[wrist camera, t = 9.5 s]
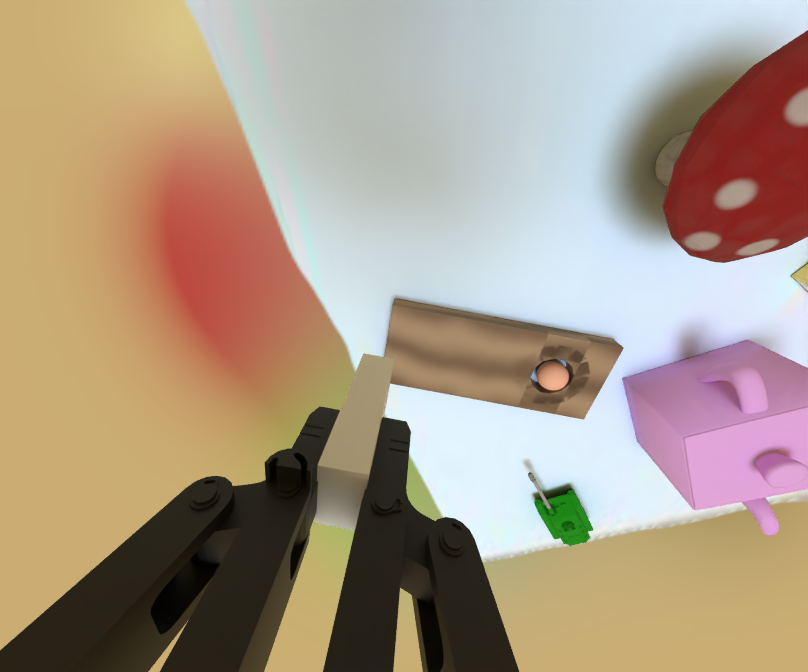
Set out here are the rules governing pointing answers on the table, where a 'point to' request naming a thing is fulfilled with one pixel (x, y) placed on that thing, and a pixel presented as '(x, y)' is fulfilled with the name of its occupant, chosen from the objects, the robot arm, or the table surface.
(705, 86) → the table surface
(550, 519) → the toy tank
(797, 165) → the decorative mushroom
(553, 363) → the coral ball
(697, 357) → the teapot
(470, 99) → the table surface
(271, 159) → the table surface
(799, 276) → the candy box
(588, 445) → the table surface
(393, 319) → the walnut board
